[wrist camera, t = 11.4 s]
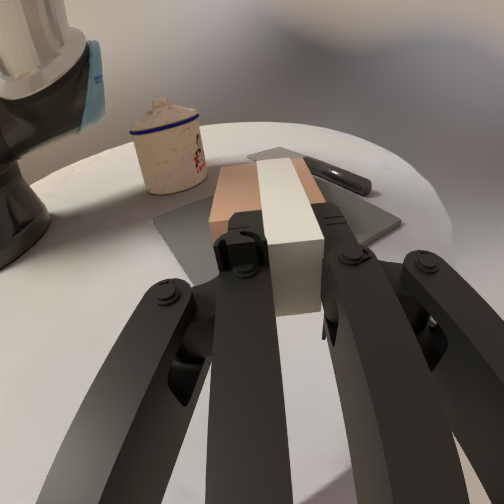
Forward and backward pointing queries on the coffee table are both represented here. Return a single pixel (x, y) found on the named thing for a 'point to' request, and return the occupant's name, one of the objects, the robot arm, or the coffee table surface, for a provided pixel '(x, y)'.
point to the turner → (319, 169)
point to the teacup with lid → (169, 148)
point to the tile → (249, 193)
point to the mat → (201, 244)
